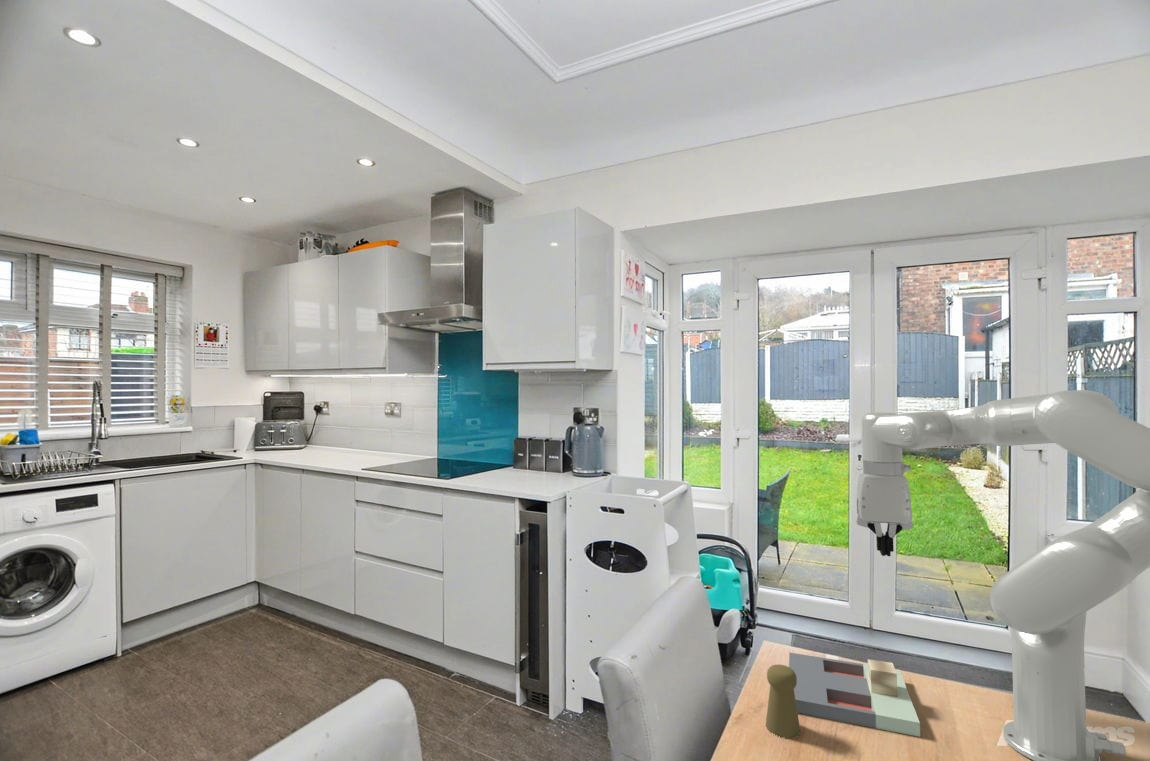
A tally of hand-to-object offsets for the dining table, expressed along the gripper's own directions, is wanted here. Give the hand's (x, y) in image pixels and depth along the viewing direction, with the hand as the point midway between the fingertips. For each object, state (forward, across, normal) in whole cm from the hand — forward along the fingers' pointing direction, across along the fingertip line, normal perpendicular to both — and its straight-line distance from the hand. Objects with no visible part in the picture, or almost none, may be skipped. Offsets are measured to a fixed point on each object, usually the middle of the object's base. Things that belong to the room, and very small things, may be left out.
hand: (885, 554), depth 117 cm
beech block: (+24, +2, +9) cm, 26 cm away
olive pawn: (+27, +21, +25) cm, 43 cm away
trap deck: (+27, +9, +10) cm, 30 cm away
